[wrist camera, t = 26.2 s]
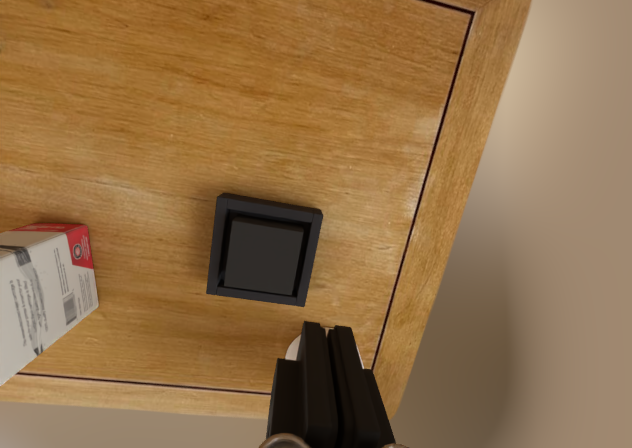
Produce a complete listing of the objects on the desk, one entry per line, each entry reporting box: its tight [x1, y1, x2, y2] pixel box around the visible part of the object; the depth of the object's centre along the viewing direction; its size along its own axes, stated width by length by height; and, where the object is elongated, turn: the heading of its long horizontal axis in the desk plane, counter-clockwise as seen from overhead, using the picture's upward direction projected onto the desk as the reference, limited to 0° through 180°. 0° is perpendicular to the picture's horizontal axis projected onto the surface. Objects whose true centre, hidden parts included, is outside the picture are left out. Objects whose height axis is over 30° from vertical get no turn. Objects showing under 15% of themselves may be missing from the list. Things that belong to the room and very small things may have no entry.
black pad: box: [224, 214, 303, 295], centre depth 27 cm, size 6×6×3 cm
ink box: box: [0, 223, 99, 386], centre depth 22 cm, size 8×5×12 cm, turn 177°
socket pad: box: [206, 193, 323, 307], centre depth 28 cm, size 9×9×2 cm
